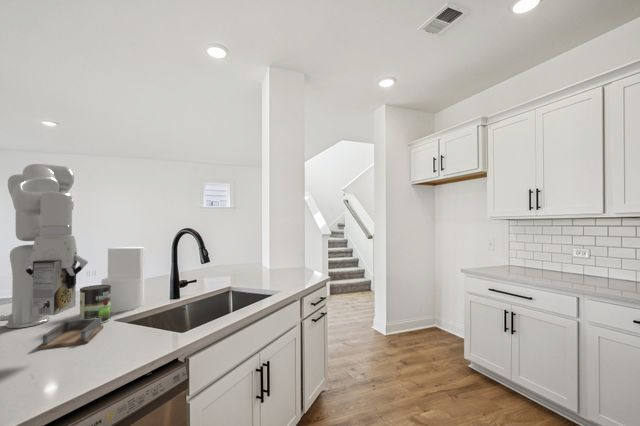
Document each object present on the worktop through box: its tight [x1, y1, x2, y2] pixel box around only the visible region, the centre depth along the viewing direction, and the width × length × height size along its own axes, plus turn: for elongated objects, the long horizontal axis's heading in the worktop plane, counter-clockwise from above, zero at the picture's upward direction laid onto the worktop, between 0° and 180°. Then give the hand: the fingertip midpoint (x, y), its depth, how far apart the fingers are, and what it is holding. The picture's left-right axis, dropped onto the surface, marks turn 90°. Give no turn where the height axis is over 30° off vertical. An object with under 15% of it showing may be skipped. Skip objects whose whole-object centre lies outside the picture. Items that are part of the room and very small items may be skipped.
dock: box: [37, 318, 104, 351], centre depth 106 cm, size 13×16×4 cm
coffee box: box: [32, 260, 77, 316], centre depth 93 cm, size 9×6×16 cm
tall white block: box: [100, 246, 146, 313], centre depth 145 cm, size 17×17×28 cm
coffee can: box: [79, 284, 112, 325], centre depth 123 cm, size 10×10×14 cm
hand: (55, 288), depth 93 cm, fingers closed on coffee box, 7 cm apart
